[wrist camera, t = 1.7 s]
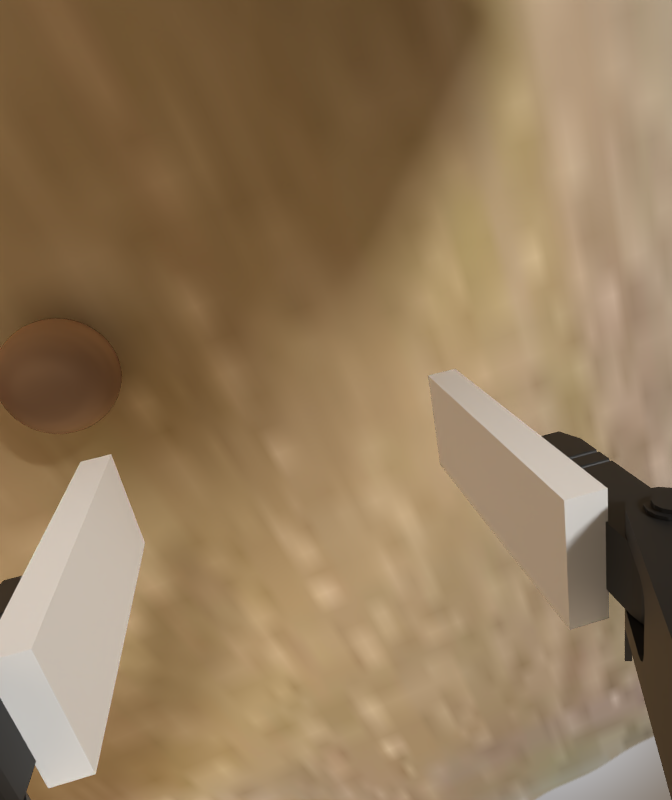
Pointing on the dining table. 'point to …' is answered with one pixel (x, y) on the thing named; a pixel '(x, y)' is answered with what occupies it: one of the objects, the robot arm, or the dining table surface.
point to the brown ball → (58, 376)
